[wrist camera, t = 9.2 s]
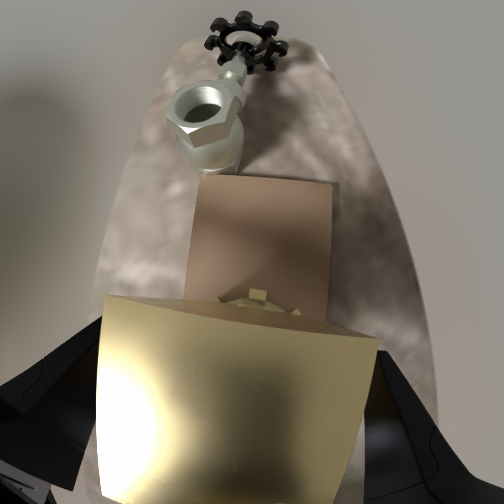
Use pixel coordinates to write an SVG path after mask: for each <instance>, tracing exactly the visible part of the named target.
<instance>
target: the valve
mask: <svg viewBox="0 0 504 504" xmlns="http://www.w3.org/2000/svg"><path fill="white" fill-rule="evenodd" d="M252 18H253V16H252V14H251V13H250V12H248V11H241V12H239V13H238V15H237V16H236V18H235V22H236V23H232V24H230V23H228V22H227V20H225V19H224V18H216V19H215V20H214V21H213V23H212V25H211V26H210V29H211V31H212V32H215V30H218V31H219V32H220V35H219V36H216V35H210V36H209V37H208V38H207V40H206V42H205V44H204V46H205V48H206V49H208V50H213V48H214V47H219V49H220V51H221V52H222V53H221V54H220V55H219V57H218V59H217V63H218V64H219V65H220V66H222V68H221V70H220V73H219V79H216V80H207V81H201V82H197V83H193V84H190V85H188V86H185V87H183V88H181V89H179V90H177V92H176V93H175V94H174V96H173V98H172V100H171V101H170V104H169V106H168V109H167V112H166V115H165V118H166V120H167V121H168V123H169V125H170V127H171V129H172V131H173V132H174V133H175V141H176V145H177V148H178V151H179V152H180V154H181V156H182V157H183V158H184V159H185V160H186V161H187V162H188V163H189V164H190V165H191V167H192V168H193V169H194V170H195V171H196V172H197V173H198V174H199V175H201V174H204V175H205V176H206V177H210V176H213V175H237V172H238V169H239V165H240V162H241V158H242V155H243V147H242V145H243V141H244V130H243V125H242V122H241V120H240V118H239V117H238V114H240V113H241V112H242V111H243V109H244V106H245V103H246V100H247V95H246V92H245V90H244V89H243V88H242V87H241V86H243V84H244V81H245V78H246V76H247V75H250V74H252V73H253V71H254V68H255V65H257V64H261V63H263V64H264V65H265V70H266V71H270V72H271V71H274V70H275V69H276V67H277V63H278V60H277V58H275V57H273V56H272V54H273V53H274V52H277V53H280V54H279V57H283V56H285V55H286V54H287V52H288V48H289V45H288V43H287V42H285V41H282V40H279V41H275V40H274V39H273V37H272V35H273V36H274V37H275V36H276V35H277V32H278V30H279V25H278V24H277V23H276V22H274V21H267V22H265V24H264V25H262V26H260V25H257V24H254V23H253V22H252ZM235 31H249V32H253V33H255V34H257V35H258V36H260V37H261V38H262V40H261V42H260V43H259V44H258V45H256V40H255V39H254V38H252V37H250V36H247V35H244V36H241V37H239V38H236V40H235V42H234V43H233V44H232V46H231V45H229V44H227V41H226V37H227V36H228V35H229V34H230V33H232V32H235ZM266 48H267V50H266V51H265V52H264V53H263V54H261V55H258V56H255V55H256V54H258V53H260V52H262V51H264V50H265V49H266Z"/></svg>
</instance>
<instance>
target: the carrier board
mask: <svg viewBox="0 0 504 504" xmlns="http://www.w3.org/2000/svg"><path fill="white" fill-rule="evenodd" d="M332 200H333V184H325V183H317V182H307V181H298V180H288V179H277V178H264V177H251V176H235V175H213V176H210V177H206V176H205V175H204V174H201V178H200V184H199V190H198V196H197V202H196V208H195V214H194V221H193V228H192V235H191V242H190V249H189V257H188V264H187V273H186V281H185V290H184V299H183V300H203V301H211V300H212V299H214V298H215V297H216V296H217V297H221V298H222V299H223V301H224V302H225V303H227V302H230V301H233V300H237V299H246V298H249V293H250V288H251V289H258V290H264V291H267V294H266V301H267V302H270V303H272V304H274V305H276V306H278V307H280V308H281V309H283V310H284V311H285V312H289V311H291V310H292V309H293V308H297V309H298V311H299V312H300V313H301V315H305V316H308V317H311V318H314V319H317V320H320V321H323V322H326V314H327V303H328V290H329V276H330V260H331V238H332Z"/></svg>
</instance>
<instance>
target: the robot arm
mask: <svg viewBox="0 0 504 504" xmlns="http://www.w3.org/2000/svg"><path fill="white" fill-rule="evenodd" d="M102 316H103V315H102ZM102 316H101V317H100V318H98V319H97V320H95V321H94V322H92V323H91V324H90V325H88V326H87V327H85V328H84V329H83V330H81V331H80V332H78V333H77V334H76V335H74V336H73V337H71V338H70V339H69V340H67V341H66V342H64V343H63V344H62V345H60V346H59V347H58V348H56V349H55V350H53V351H52V352H51V353H49V354H48V355H47V356H46V357H44V359H41V360H40V361H38V362H37V363H36V364H34V365H33V366H32V367H30V368H29V369H28V370H26V371H24V372H23V373H21V374H19V375H18V376H16V377H15V378H13V379H11V380H10V381H8V382H6V383H5V384H3V385H1V386H0V504H57V503H56V501H55V499H54V496H53V494H52V492H51V489H50V487H51V484H53V485H56V486H58V487H61V488H64V489H66V490H69V491H73V489H74V486H75V482H76V479H77V476H78V472H79V469H80V466H81V462H82V459H83V456H84V453H85V450H86V447H87V444H88V441H89V438H90V435H91V432H92V429H93V427H94V424H95V421H96V418H97V374H98V357H99V345H100V334H101V325H102ZM364 420H365V481H364V502H363V504H504V489H503V488H500V487H498V486H495V485H493V484H490V483H487V482H485V481H482V480H480V479H478V478H476V477H475V476H473V475H472V474H471V473H470V472H469V471H468V470H467V468H466V467H465V466H464V464H463V463H462V462H461V460H460V459H459V458H458V457H457V455H456V454H455V452H454V451H453V450H452V448H451V447H450V446H449V444H448V443H447V441H446V440H445V438H444V437H443V435H442V434H441V432H440V431H439V429H438V427H437V426H436V425H435V423H434V421H433V419H432V418H431V416H430V415H429V413H428V412H427V410H426V408H425V407H424V405H423V404H422V402H421V401H420V399H419V398H418V396H417V395H416V393H415V391H414V390H413V388H412V387H411V385H410V384H409V382H408V381H407V379H406V378H405V376H404V375H403V374H402V372H401V371H400V369H399V368H398V366H397V365H396V363H395V362H394V360H393V359H392V357H391V356H390V355H389V353H388V352H387V351H384V350H377V355H376V360H375V365H374V370H373V375H372V380H371V384H370V389H369V393H368V397H367V401H366V405H365V409H364Z"/></svg>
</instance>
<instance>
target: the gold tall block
mask: <svg viewBox="0 0 504 504" xmlns="http://www.w3.org/2000/svg"><path fill="white" fill-rule="evenodd" d="M266 294H267V291H264V290H258V289H251V288H250V293H249V298H246V299H237V300H233V301H230V302H227V303H225V302H224V301H223V299H222V298H221V297H217V296H216V297H215V298H214V299H212V300H211V301H203V300H180V299H162V298H146V297H131V296H118V295H106V294H105V301H104V308H103V316H102V325H101V334H100V345H99V357H98V374H97V442H98V458H99V469H100V479H101V487H102V495H104V496H106V497H109V498H111V499H113V500H116V501H118V502H120V503H123V504H333V502H334V499H335V497H336V494H337V492H338V489H339V487H340V484H341V482H342V479H343V476H344V474H345V471H346V468H347V465H348V462H349V460H350V457H351V454H352V450H353V447H354V444H355V441H356V438H357V434H358V431H359V428H360V424H361V420H362V417H363V413H364V409H365V405H366V401H367V397H368V393H369V389H370V384H371V380H372V375H373V370H374V365H375V360H376V355H377V349H378V344H379V338H375V337H372V336H368V335H365V334H362V333H358V332H355V331H352V330H349V329H345V328H342V327H339V326H336V325H333V324H329V323H326V322H323V321H320V320H317V319H314V318H311V317H308V316H305V315H301V313H300V312H299V311H298V309H297V308H293V309H292V310H291V311H289V312H285V311H284V310H283V309H281V308H280V307H278V306H276V305H274V304H272V303H270V302H267V301H266Z"/></svg>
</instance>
